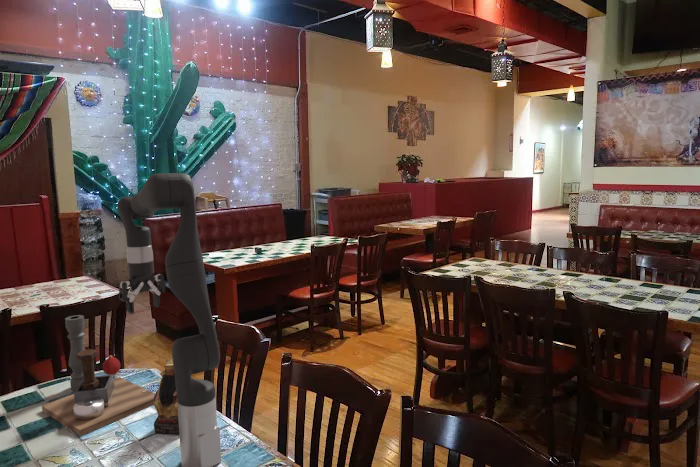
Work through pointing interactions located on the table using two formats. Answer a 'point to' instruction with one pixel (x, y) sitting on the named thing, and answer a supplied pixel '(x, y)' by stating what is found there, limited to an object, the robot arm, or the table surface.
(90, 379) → the bolt
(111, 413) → the wooden cutting board
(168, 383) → the statue
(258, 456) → the table surface
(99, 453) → the table surface
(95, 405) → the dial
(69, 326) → the candle holder
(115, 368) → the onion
